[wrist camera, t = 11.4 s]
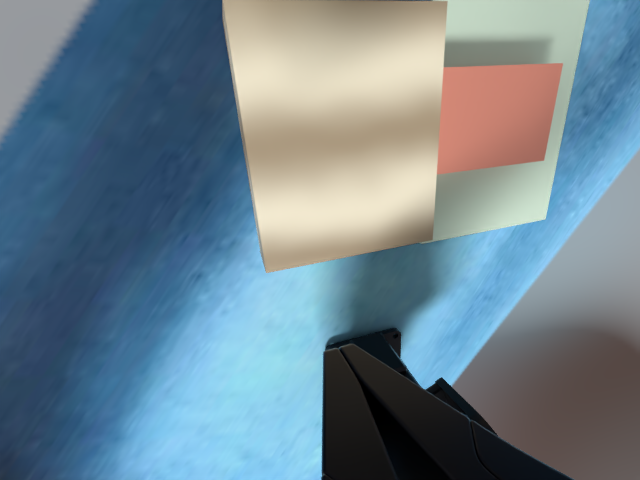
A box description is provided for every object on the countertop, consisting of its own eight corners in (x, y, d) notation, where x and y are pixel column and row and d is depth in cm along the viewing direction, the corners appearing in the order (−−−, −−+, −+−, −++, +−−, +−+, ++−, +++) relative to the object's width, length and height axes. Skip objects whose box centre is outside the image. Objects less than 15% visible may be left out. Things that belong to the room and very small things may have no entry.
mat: (542, 218, 27) (545, 219, 26) (419, 242, 24) (421, 244, 24) (587, -9, 21) (591, -11, 20) (430, -12, 18) (434, -14, 18)
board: (408, 226, 23) (432, 240, 20) (260, 253, 21) (266, 272, 18) (414, 19, 18) (447, 1, 16) (222, 20, 16) (222, -1, 13)
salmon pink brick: (534, 68, 21) (563, 63, 19) (519, 157, 23) (544, 160, 22) (418, 72, 19) (439, 67, 17) (414, 170, 21) (431, 175, 20)
